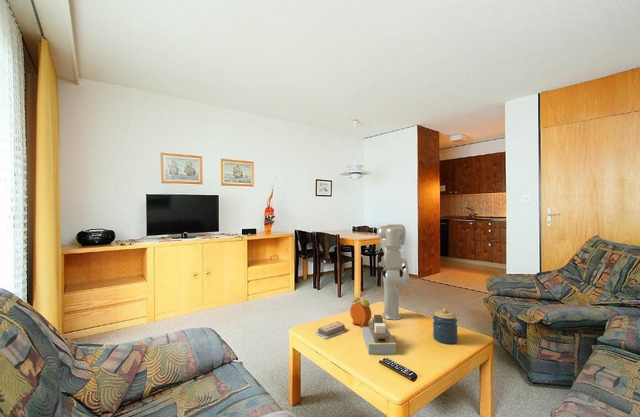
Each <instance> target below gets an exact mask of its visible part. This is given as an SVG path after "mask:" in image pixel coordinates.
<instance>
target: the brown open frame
mask: <svg viewBox="0 0 640 417" xmlns="http://www.w3.org/2000/svg"><path fill="white" fill-rule="evenodd" d="M373 317H374V323H384V321H383V319H384V317H382V314H373ZM368 323H369V329H370V331H371V334H372V336H373V339H374V341H375V343H378V339H384V340H385V343H389V336H388V334H387V332H386V330H385V333H375V330H374V327H373V326H372V321H369V322H368Z"/></svg>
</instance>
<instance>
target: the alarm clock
mask: <svg viewBox="0 0 640 417" xmlns="http://www.w3.org/2000/svg"><path fill="white" fill-rule="evenodd" d="M357 295H362V296H363V294H361V293H359V292H357ZM351 303H352V304H351V306H350V310H349V314H350V317H351V319H352V323H351V324H352V325H353V326H356V325H359V326H360V328H361V329H363V327H369V322H371V320H372V310H371V307H370V302H369V301H368V300H367V299H365V298H363V299H362V300H361V298H360V297H358V296H354V298H353V299H352V300H351Z"/></svg>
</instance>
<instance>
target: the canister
mask: <svg viewBox="0 0 640 417" xmlns="http://www.w3.org/2000/svg"><path fill="white" fill-rule="evenodd" d="M456 317H457V315H456V313H453V311H451V310H448V309H447V308H446V307H444V308H442V309H438V310H436V311H434V315H433V316H432V319H433V322H432V324H433V325H432V327H433V329H432V330H433V332H432V337H433V339H434V340H435V341H436V342H438V343H440V344H444V343H445V344H444V345H453V344H452V343H454V344H457V343H458V339H459V337H458V319H457V318H456Z"/></svg>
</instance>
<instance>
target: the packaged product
mask: <svg viewBox="0 0 640 417" xmlns="http://www.w3.org/2000/svg"><path fill="white" fill-rule="evenodd" d="M346 332H348V329H346V326H345V323H343V322H341V321H338V320H337V321H335V322H331V323H328V324H326V325H323V326H321V327H318V329H317V330H316V331H314V335H315V334H317V335H318V336H317V335H316V336H317V337H319V336H320V337H319V338H321V337H322V338H321V339H323V340H328V339H330V338H333V337H336V336H339V335H341V334H343V333H346ZM327 338H328V339H327Z"/></svg>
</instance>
